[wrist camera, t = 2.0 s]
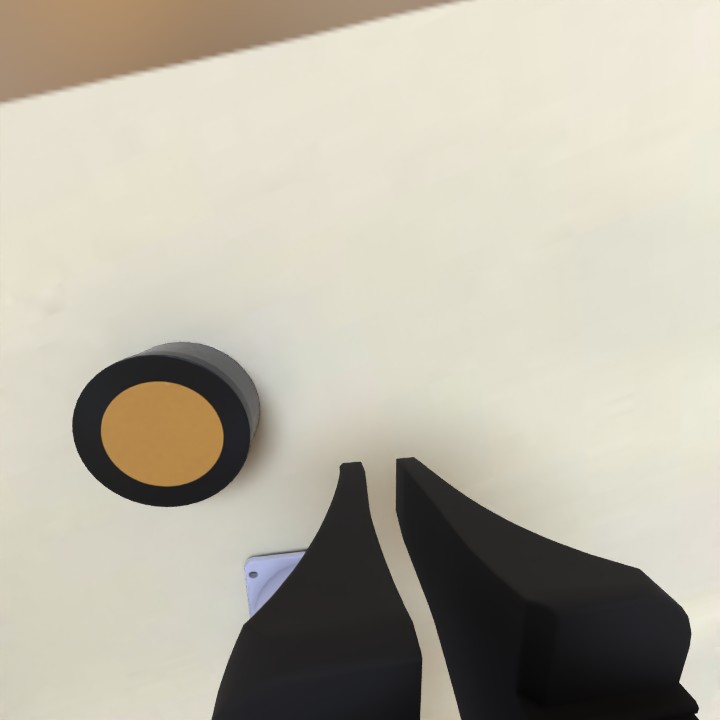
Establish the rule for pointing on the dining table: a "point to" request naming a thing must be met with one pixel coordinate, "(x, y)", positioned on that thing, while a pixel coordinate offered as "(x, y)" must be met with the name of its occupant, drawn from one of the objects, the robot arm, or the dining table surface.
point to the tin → (167, 424)
